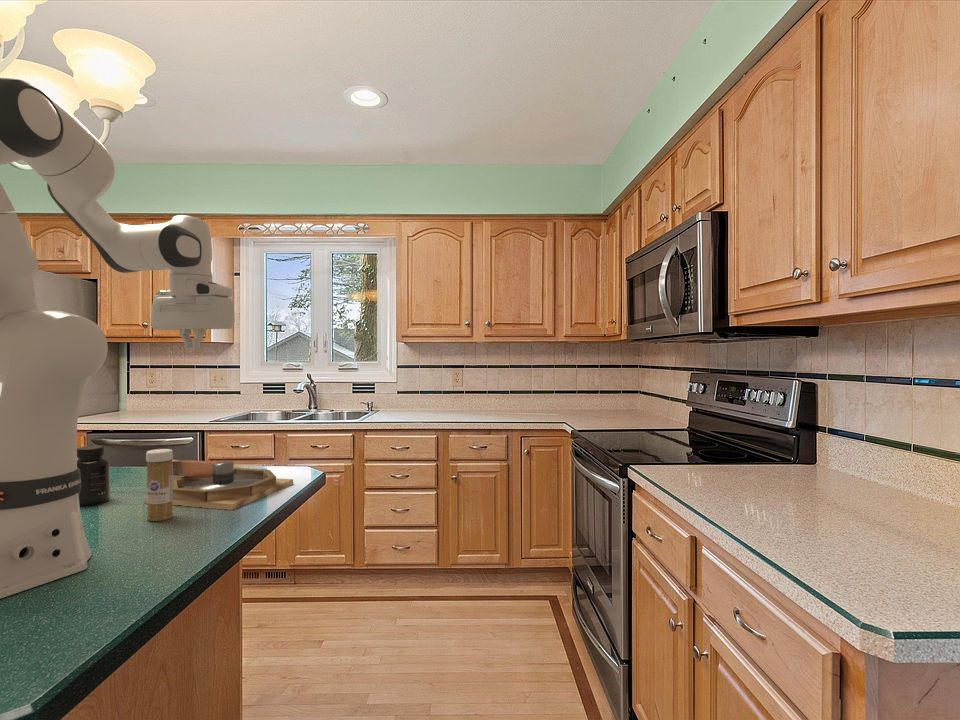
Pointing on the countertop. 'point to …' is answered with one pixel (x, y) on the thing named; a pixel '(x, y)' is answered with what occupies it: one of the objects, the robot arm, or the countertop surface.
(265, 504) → the countertop surface
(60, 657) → the countertop surface
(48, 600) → the countertop surface
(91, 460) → the supplement bottle
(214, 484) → the dial
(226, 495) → the dial housing
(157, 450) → the sprinkles bottle
